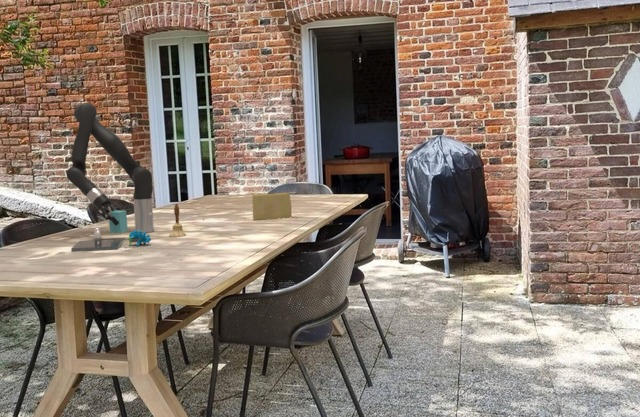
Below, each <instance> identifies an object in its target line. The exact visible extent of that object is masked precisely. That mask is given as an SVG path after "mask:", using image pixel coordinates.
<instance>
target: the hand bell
mask: <svg viewBox="0 0 640 417" xmlns="http://www.w3.org/2000/svg"><path fill="white" fill-rule="evenodd" d="M178 204H179V203H175V204H174V208H173V212H174V215H175V216H174V217H175V223H174V224H173V225H172V230H171V232H170V234H169V237H171V238H179V237H181V238H182V237H186V236H187V233H185V232H184V230H183V225H182V224H181V223H180V218H179V217H180V207H179V205H178Z"/></svg>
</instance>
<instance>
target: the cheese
mask: <svg viewBox="0 0 640 417" xmlns="http://www.w3.org/2000/svg"><path fill="white" fill-rule="evenodd" d="M251 196H252V199H251V200H252V219H253V220H252V221H267V220H266V219H270V220H279V219H278V218H290V217H293V216H292V214H293V213H292V200H291V195H290V193H289V192H279V193H277V192H276V193H252V195H251Z"/></svg>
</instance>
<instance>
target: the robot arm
mask: <svg viewBox="0 0 640 417" xmlns="http://www.w3.org/2000/svg"><path fill="white" fill-rule="evenodd" d="M97 113H98V112H97V108H96V107H95V105H93V104H92V103H90V102H84V103H81V104H80V105H78V106H76V107H75V108H74V110H73V116H74V118H75V120H76V121H77V122H78V130H77V133H76V136H75V139H74V142H73V145H72V149H71V150H72V151H71V154H70V155H71V156H70V162H72V167H69V168H68V169H67V170H66V178H67V180H68V181H69V182H70V183H72V185H74V186H75V187H76V188H77V189H78V190H80V192H81V193H82V194H83V195H84V196H85V197H86V198H87V199H88V202H90V203H91V205H92V206H93V207H94V208H95V209H96V210H97V211H98V214H99V215H100V216H101V217H102V218H104V220H106V221H109V220H110V221H112V222H113V223H114V224H115V225H118V224H119V222H118V221H117V220H116V219H115V218H114V217H113V215H112V214H111V212H113V211H122V210H121V208H120V207H119V206H118V205H117V204H115V205H113V204H112V203H111V199H110V198H109V197H108V196H107V195H106V194H105V193H104V192H103V191H102V190H101V189H100V188H99V187H98V186H97V185H96V184H95V183H94V182H92V180H90V179H89V178H87V176H86V175H87V164H86V160H87V155H88V149H89V148H88V147H89V143H90V138H91V135H92V137H93V138H94V139H95V140H96V141H97V143H98V144H100V146H101V147H102V148H103V149H104V151H105V152H106V153H107V154H108V155H109V156H110V157H111V158H112V159H113V160H114V161H115V162H116V163H117V164H118V165H119V166H120V167H121V168H122V169H123V170H124V171H125V173H126V174H127V175H128V177H129V178H130V179H131V181H132V182H133V183H134V190H133V191H134V193H133V210H134V211H133V214H134V230H136V231H137V232H139V231H142V232H141V233H144V232H146V233H151V232H154V231H155V230H154V229H155V227H154V226H155V224H154V212H153V198H152V197H153V196H152V195H153V192H154V191H153V175H152V172H151V171H150V170H149V169H147V168H144V167H142V166H141V165H140V163H138V162H137V161H136V160H135V159H134V157H133V156H132V154H131V153H130V151H129V149H128V147H127V146H126V145H125V144H124V142H123V141H122V139H120V137H119V136H118V135H117V134H115V133H114V132H113V131H112V130H110V129H109V128H107V127H106V126H104V125H103V124H102V123H101V122H100V121H99V120H98V118H96V117H97Z"/></svg>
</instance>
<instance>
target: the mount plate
mask: <svg viewBox="0 0 640 417" xmlns="http://www.w3.org/2000/svg"><path fill="white" fill-rule="evenodd" d="M93 239H94V240H91V239H90V240H79V241H78V242H77V243H75V244H74V245H73V246H72V247H71V250H70V251H71V252H93V251H95V252H96V251H111V250H113V251H115V250H119V248H121V246H122V245H123V243H124V239H123V238H120V239H119V238H118V239H117V238H116V239H102V230H101V228H100V227H94V229H93Z"/></svg>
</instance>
